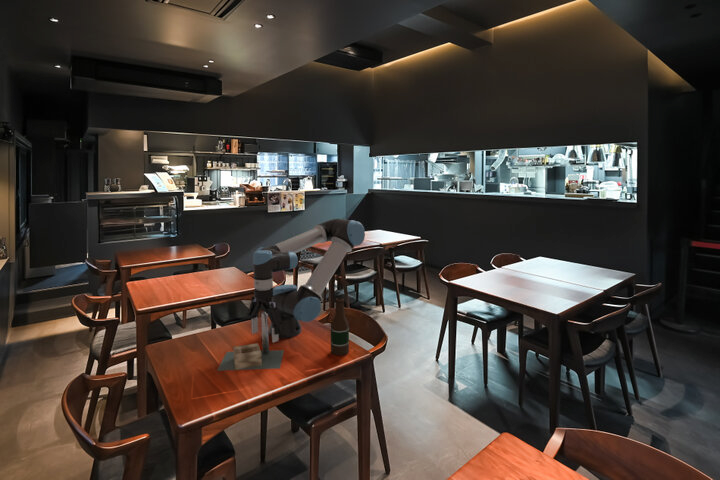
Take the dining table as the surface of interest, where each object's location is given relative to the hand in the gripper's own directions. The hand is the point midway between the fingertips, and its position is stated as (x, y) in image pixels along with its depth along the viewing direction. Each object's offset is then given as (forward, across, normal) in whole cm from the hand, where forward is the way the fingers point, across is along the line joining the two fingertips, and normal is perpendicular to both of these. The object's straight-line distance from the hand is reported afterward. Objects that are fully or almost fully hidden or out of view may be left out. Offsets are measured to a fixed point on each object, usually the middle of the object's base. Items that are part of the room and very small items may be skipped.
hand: (264, 336), depth 165 cm
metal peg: (+7, 0, 0) cm, 7 cm away
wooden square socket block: (+8, 0, -9) cm, 12 cm away
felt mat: (+8, 0, -7) cm, 10 cm away
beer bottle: (+8, +23, +22) cm, 32 cm away
